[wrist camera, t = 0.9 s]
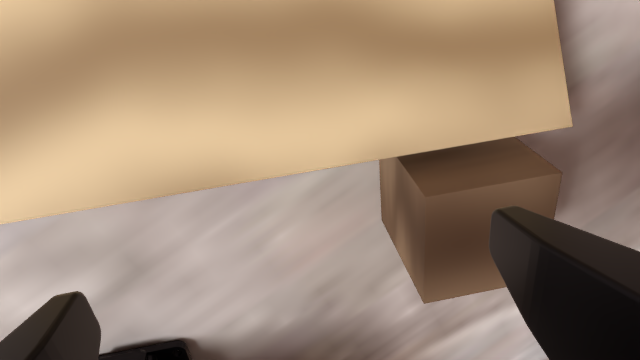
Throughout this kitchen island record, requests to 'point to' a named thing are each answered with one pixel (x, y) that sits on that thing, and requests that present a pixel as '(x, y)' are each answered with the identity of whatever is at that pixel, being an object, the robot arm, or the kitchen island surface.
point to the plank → (256, 90)
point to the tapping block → (460, 210)
